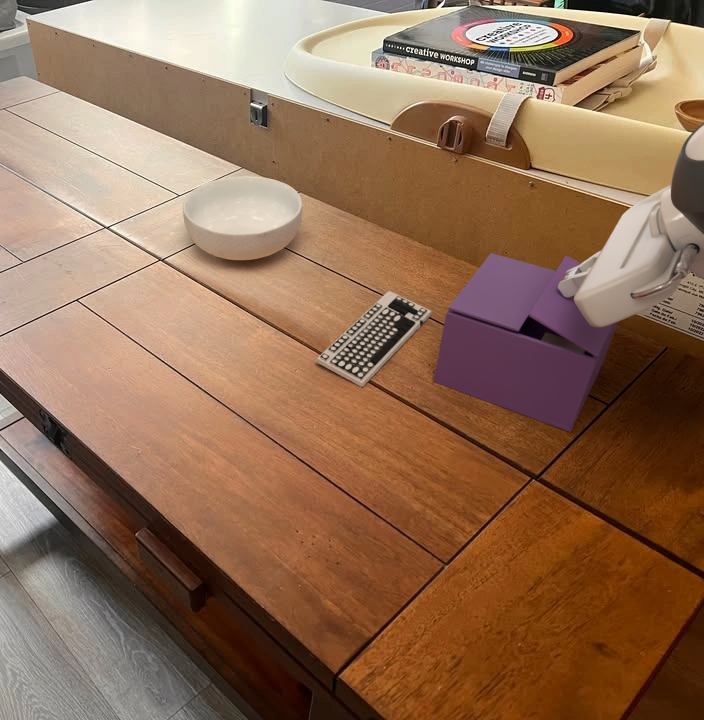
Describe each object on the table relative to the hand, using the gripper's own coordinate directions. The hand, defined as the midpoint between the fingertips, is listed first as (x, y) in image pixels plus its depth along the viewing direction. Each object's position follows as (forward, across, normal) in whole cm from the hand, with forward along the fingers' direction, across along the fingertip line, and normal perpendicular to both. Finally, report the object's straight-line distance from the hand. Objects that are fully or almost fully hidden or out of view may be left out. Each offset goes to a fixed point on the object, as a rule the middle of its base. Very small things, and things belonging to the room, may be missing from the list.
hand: (564, 285), depth 78 cm
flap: (0, 0, -2) cm, 2 cm away
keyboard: (+22, -3, +4) cm, 22 cm away
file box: (+10, 0, -7) cm, 13 cm away
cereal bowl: (+40, +6, +22) cm, 46 cm away
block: (+7, 0, -10) cm, 12 cm away
